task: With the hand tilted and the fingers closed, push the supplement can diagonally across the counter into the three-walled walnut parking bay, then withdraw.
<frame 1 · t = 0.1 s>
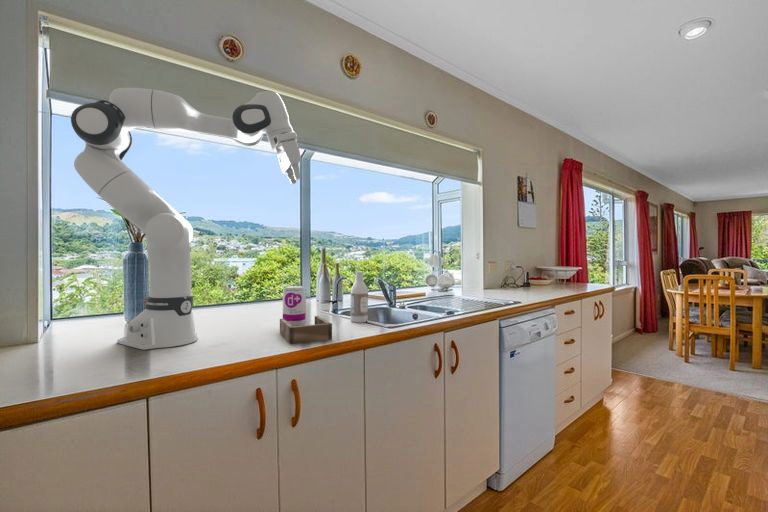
hand: (296, 181, 125), 52 cm above the worktop, tool tilted 20°, fingers open, 8 cm apart
bay: (304, 335, 122), on the worktop
supplement can: (294, 328, 135), on the worktop
bath foam: (358, 321, 147), on the worktop
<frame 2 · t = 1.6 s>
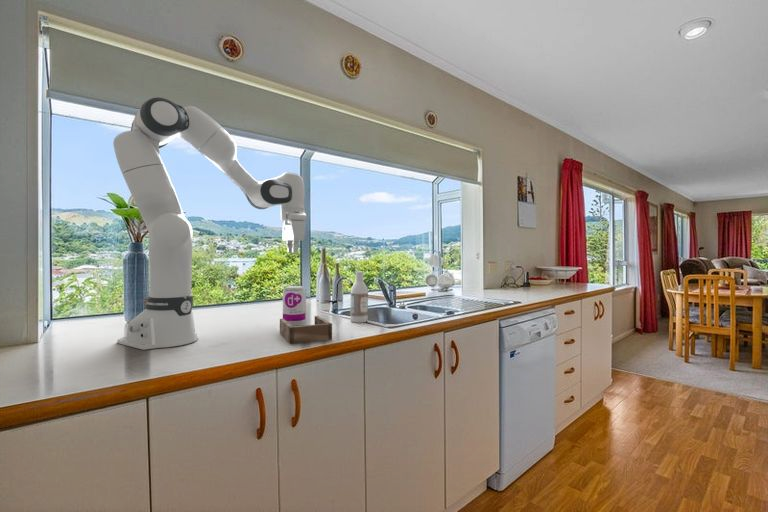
hand: (292, 253, 140), 27 cm above the worktop, tool pointing down, fingers open, 6 cm apart
nothing on the worktop moved.
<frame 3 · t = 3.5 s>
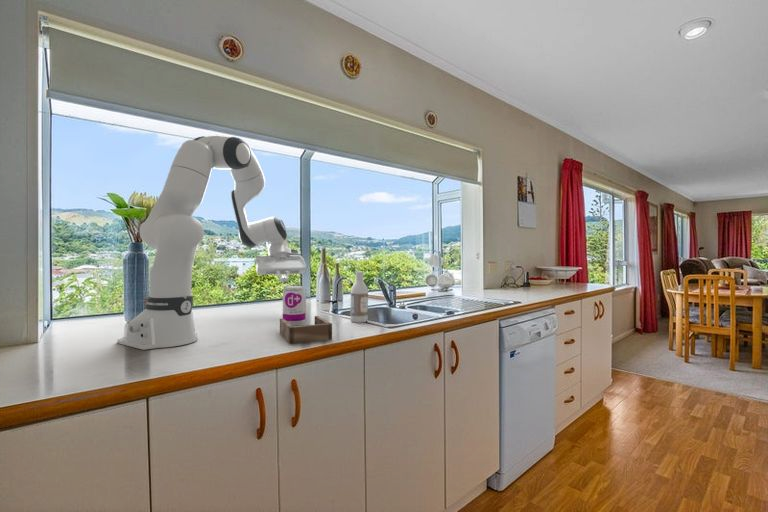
hand: (284, 280, 149), 16 cm above the worktop, tool tilted 45°, fingers closed
nothing on the worktop moved.
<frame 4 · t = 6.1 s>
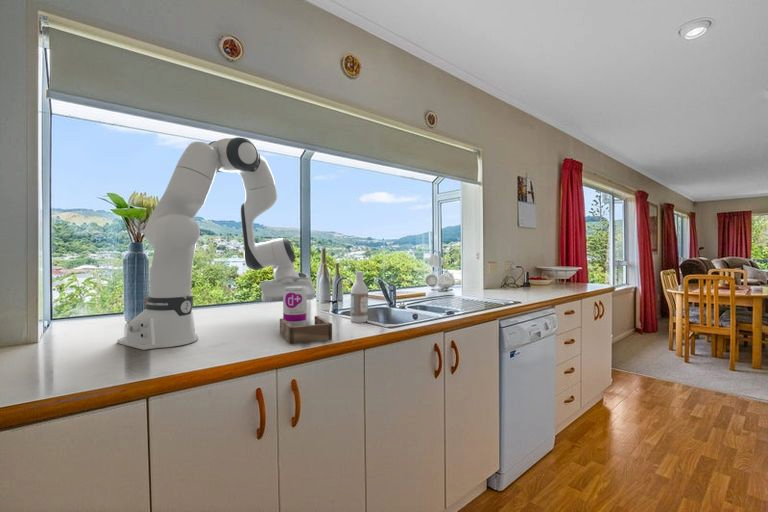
hand: (291, 308, 138), 6 cm above the worktop, tool tilted 45°, fingers closed, pressing on supplement can
supplement can: (294, 328, 134), on the worktop, touching gripper
everything else where it was.
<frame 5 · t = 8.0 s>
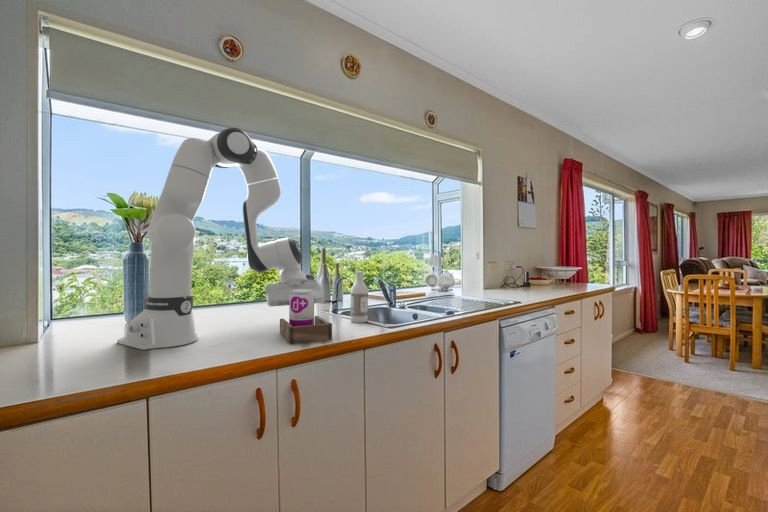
hand: (299, 313, 129), 6 cm above the worktop, tool tilted 45°, fingers closed, pressing on supplement can
supplement can: (301, 334, 124), on the worktop, touching gripper
everything else where it was.
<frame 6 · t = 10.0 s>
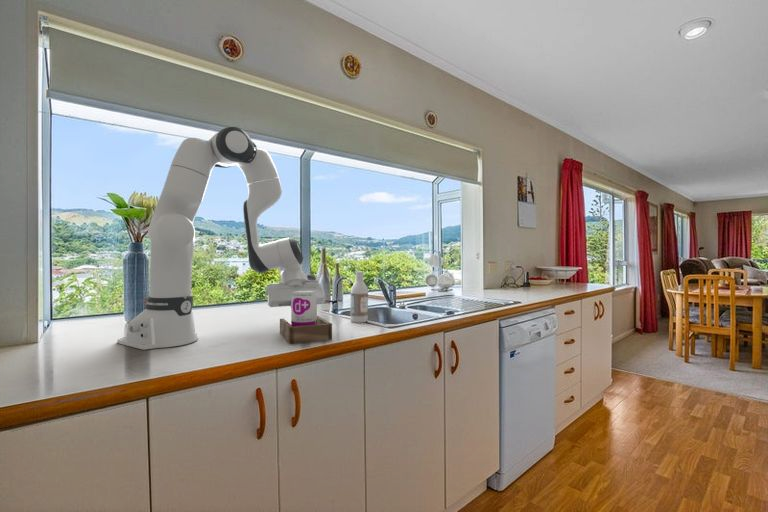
hand: (300, 313, 127), 6 cm above the worktop, tool tilted 45°, fingers closed
supplement can: (303, 337, 121), on the worktop
everything else where it was.
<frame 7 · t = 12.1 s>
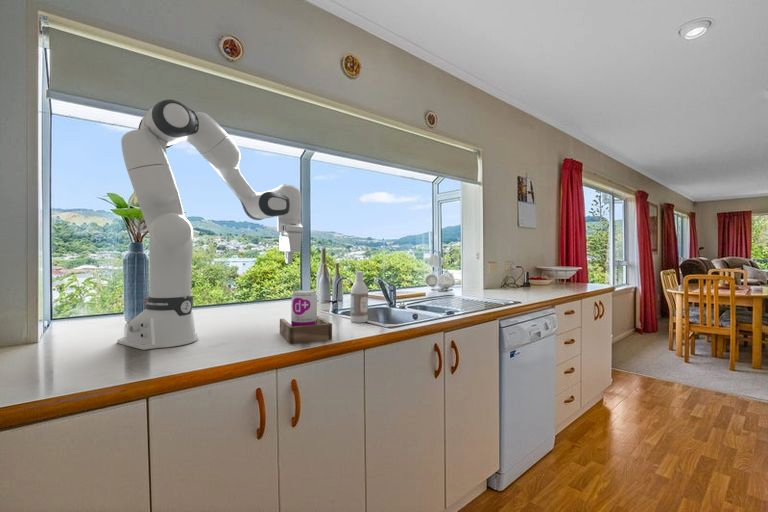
hand: (288, 263, 141), 23 cm above the worktop, tool pointing down, fingers closed
nothing on the worktop moved.
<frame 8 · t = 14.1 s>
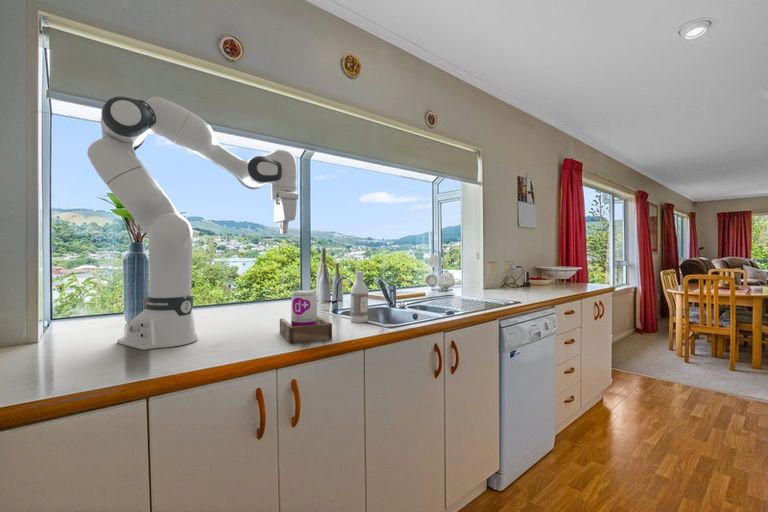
hand: (283, 234, 134), 34 cm above the worktop, tool pointing down, fingers closed
nothing on the worktop moved.
at the end: supplement can 0.6 cm from the bay (horizontally); supplement can tilted 0°; supplement can touching worktop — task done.
